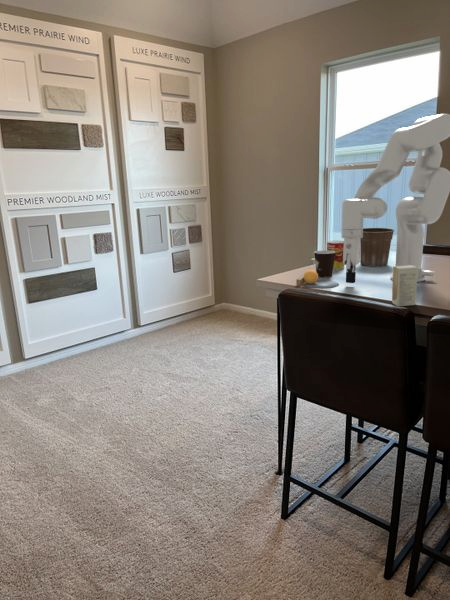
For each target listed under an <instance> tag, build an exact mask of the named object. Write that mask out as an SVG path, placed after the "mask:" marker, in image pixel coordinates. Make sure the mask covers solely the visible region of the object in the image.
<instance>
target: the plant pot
mask: <svg viewBox="0 0 450 600" xmlns="http://www.w3.org/2000/svg"><path fill="white" fill-rule="evenodd" d="M394 232H395V229H393V228H387V227H365V228H364V227H363V237H362V238H361V261H360V263H359V264H360V265H362V266H365V267H370V268H371V267H373V268H375V267H383V266H384V267H387V266H388V264H389V258H390V249H391V244H392V240H393V236H394Z"/></svg>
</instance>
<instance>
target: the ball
mask: <svg viewBox="0 0 450 600" xmlns="http://www.w3.org/2000/svg"><path fill="white" fill-rule="evenodd" d="M303 275H304V280H305V283H308V284H314V283H316V282H317V280H319V277H318V274H317V272H316V270H314V269H309V270H306V271H305V272H304V274H303Z"/></svg>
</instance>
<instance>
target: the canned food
mask: <svg viewBox="0 0 450 600" xmlns="http://www.w3.org/2000/svg"><path fill="white" fill-rule="evenodd" d="M343 248H344V240H329V241H326V251H335V258H334V265H333V269H340V270H344V269H345V265H344V264H343Z"/></svg>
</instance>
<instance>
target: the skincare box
mask: <svg viewBox="0 0 450 600" xmlns="http://www.w3.org/2000/svg"><path fill="white" fill-rule="evenodd" d="M392 275H393V280H392V287H391V288H392V291H391V292H392V293H391V303H392V304H393V306H394V305H395V306H396V307H404V306H416V304H417V289H418V288H417V286H418V285H417V283H418V282H417V267H415V266H413V265H406V266H395V265H393V267H392Z"/></svg>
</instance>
